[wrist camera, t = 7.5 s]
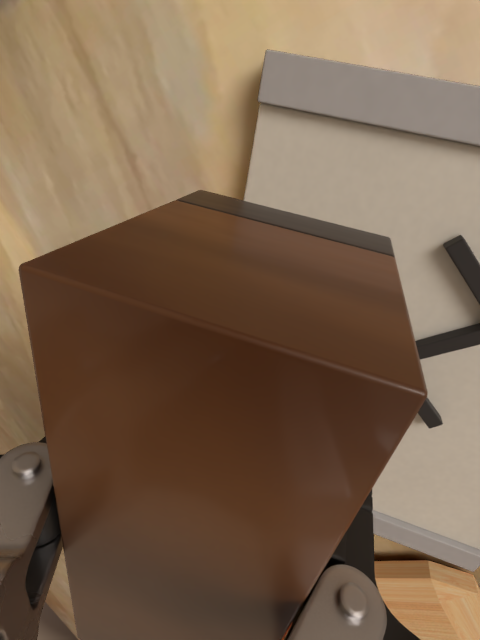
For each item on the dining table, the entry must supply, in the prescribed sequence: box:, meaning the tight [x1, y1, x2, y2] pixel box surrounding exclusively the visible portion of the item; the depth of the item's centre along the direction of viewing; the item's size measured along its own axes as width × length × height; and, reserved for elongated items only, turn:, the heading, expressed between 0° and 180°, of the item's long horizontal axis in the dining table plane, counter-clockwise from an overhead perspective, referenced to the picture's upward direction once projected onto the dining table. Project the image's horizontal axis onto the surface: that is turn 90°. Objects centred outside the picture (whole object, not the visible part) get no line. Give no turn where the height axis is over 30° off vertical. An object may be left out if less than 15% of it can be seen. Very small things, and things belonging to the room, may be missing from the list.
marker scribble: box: [415, 235, 480, 428], centre depth 16 cm, size 9×4×1 cm, turn 170°
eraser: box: [19, 190, 428, 640], centre depth 10 cm, size 12×5×6 cm, turn 170°
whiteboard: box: [243, 50, 480, 572], centre depth 18 cm, size 23×18×1 cm
